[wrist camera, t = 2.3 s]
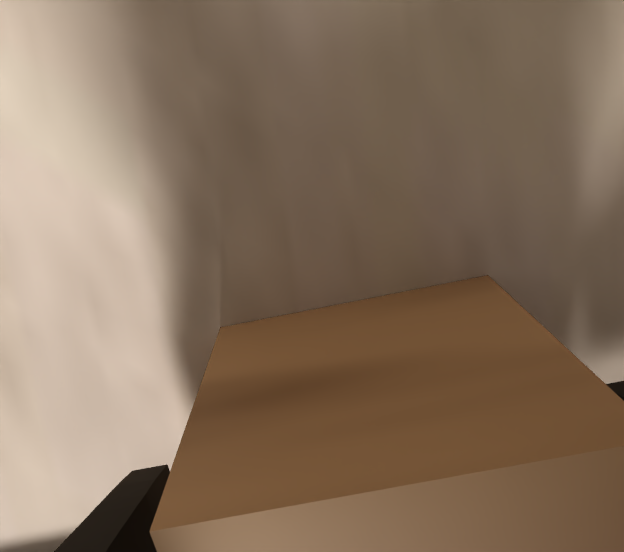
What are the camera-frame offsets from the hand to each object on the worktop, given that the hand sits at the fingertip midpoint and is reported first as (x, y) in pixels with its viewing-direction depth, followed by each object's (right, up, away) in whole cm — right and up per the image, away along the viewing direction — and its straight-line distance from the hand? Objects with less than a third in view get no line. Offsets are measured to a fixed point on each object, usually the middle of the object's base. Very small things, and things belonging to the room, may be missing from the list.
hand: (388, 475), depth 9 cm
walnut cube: (0, 0, +2) cm, 2 cm away
